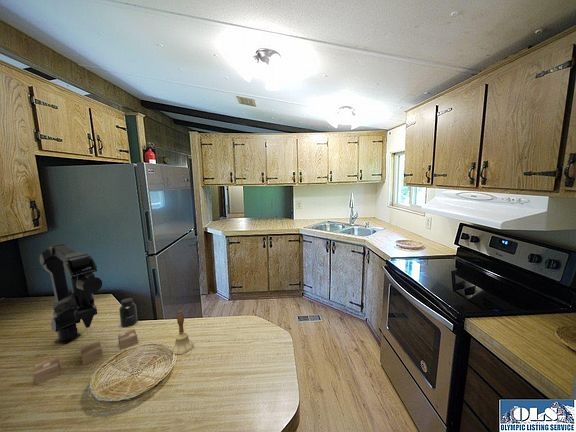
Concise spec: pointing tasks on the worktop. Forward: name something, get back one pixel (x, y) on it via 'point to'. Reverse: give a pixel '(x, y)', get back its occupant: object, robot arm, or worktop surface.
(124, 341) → the two-pip walnut block
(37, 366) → the one-pip walnut block
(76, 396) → the worktop surface
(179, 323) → the hand bell
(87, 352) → the plain walnut block
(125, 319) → the supplement bottle
